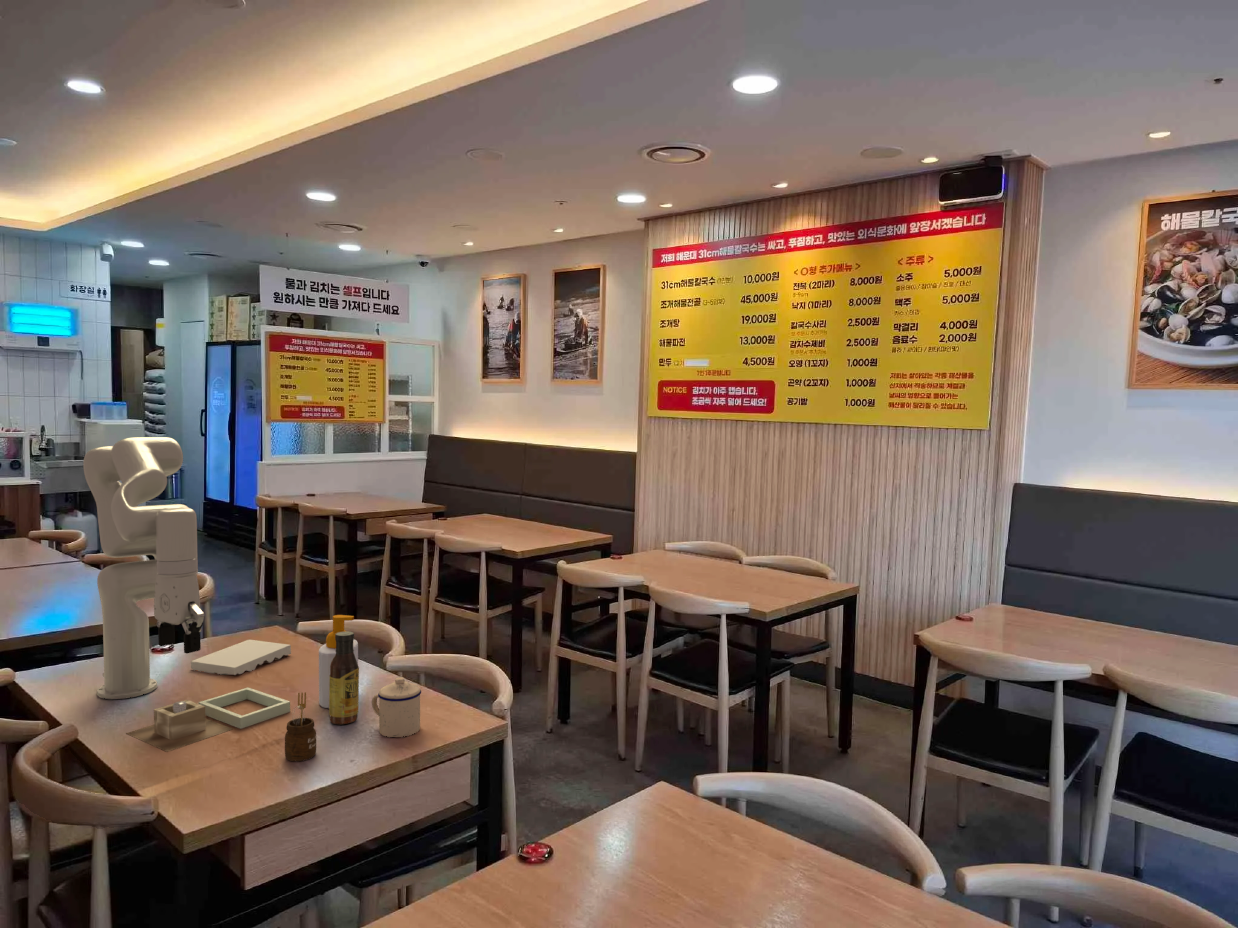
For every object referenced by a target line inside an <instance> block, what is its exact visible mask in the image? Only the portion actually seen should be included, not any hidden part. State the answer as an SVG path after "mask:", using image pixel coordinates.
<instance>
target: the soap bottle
mask: <svg viewBox="0 0 1238 928" xmlns="http://www.w3.org/2000/svg"><path fill="white" fill-rule="evenodd" d="M354 620H355V616H354V615H345V614H335V615H332V631H331V632H329V633H328V634H327V635H326V638H325V643H324V644H323V645H321V646H320V648H318V704H319V705H320V707H322V708H323V709H324V708H326V709H329V688H330V665H331V662H332V660H333V658H334V657H335V655H336V640H335V634H336V633H338V632H345V631H346V629H345V622H346V621H349V622H352V621H354ZM353 650H354V651H353V652H354V655H355V658H356V661H357V664H358V665H359V643H358V640H356V639H355V638H354V640H353Z"/></svg>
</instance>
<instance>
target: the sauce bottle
mask: <svg viewBox="0 0 1238 928" xmlns="http://www.w3.org/2000/svg"><path fill="white" fill-rule="evenodd" d="M354 639H355V632H352V631H347V630H345V632H338V633H336V634H335V640H336V655H335V657H334V658H333V660H332V662H331V665H330V688H329V708H328V709H329V710H328V711H329V712H328V714H329V720H330V723H331V724H333V725H348V724H351V723H354V722H355V721H357V719H358V714H359V694H360V693H359V691H360V690H359V689H360V688H359V687H360V686H359V685H360V684H359V683H360V682H359V681H360V667H359V663H358V664H357V661H356V658H355V655H354V652H353V651H354V650H353V640H354Z"/></svg>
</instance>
